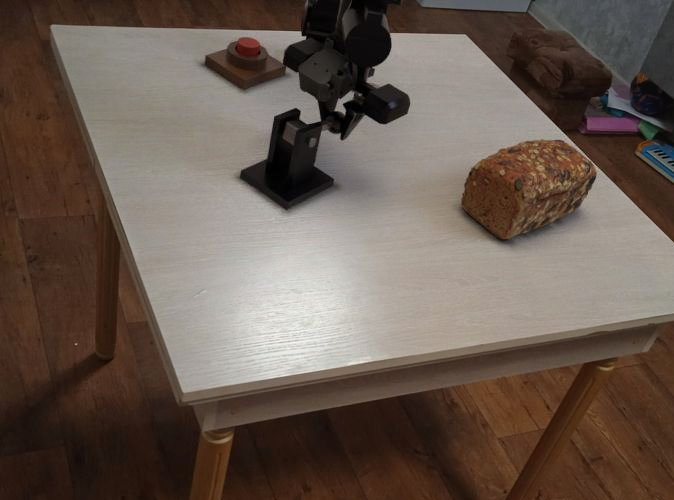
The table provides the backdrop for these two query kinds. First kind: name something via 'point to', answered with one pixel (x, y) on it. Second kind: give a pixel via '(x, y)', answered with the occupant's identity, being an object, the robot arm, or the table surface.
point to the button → (248, 46)
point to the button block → (245, 66)
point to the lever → (330, 123)
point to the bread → (527, 186)
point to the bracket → (290, 164)
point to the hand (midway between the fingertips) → (333, 133)
